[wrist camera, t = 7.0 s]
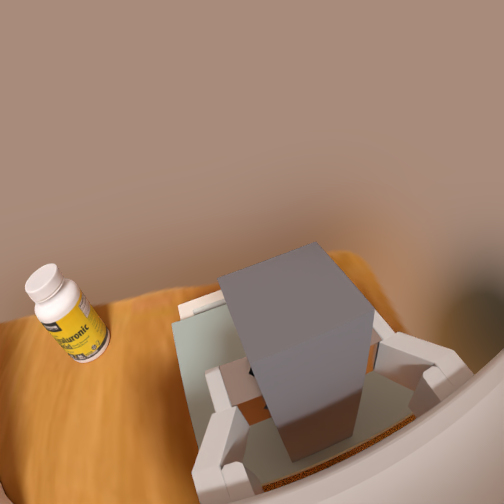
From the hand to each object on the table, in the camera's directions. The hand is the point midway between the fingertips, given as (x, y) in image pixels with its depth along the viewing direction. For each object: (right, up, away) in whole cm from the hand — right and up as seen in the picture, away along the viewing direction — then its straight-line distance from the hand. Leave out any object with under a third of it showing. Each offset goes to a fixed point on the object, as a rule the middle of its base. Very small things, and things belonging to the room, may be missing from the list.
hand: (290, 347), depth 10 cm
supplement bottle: (-18, -7, +19) cm, 27 cm away
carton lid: (0, -3, +6) cm, 7 cm away
